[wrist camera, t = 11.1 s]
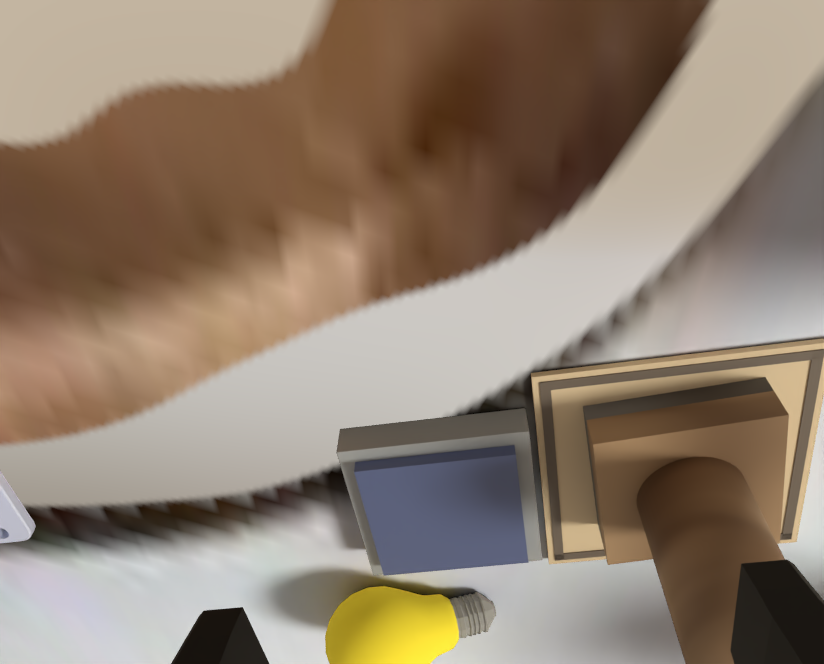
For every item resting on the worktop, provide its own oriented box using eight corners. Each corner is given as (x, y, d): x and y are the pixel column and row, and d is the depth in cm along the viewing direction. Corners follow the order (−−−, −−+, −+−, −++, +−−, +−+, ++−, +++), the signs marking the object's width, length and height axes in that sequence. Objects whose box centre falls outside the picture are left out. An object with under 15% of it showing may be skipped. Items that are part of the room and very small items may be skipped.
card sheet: (548, 559, 25) (549, 565, 25) (530, 373, 21) (531, 378, 20) (793, 537, 24) (796, 542, 24) (830, 337, 20) (833, 342, 19)
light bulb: (312, 579, 26) (325, 645, 23) (473, 540, 27) (507, 597, 24) (326, 659, 27) (340, 732, 24) (481, 617, 28) (515, 682, 25)
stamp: (597, 524, 24) (647, 722, 18) (582, 405, 21) (634, 599, 16) (759, 502, 23) (859, 701, 18) (765, 376, 20) (885, 568, 15)
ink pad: (375, 550, 25) (372, 585, 24) (340, 429, 22) (335, 462, 21) (538, 535, 24) (544, 570, 23) (525, 407, 21) (530, 441, 20)
